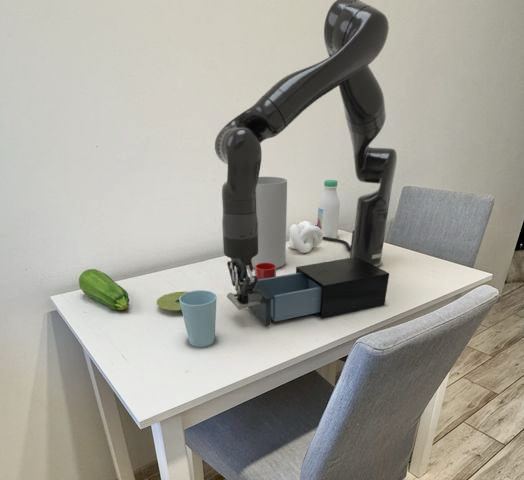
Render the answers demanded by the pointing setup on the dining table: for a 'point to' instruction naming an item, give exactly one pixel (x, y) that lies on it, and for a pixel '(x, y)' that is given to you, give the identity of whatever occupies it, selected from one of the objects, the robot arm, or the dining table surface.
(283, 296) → the dish drawer
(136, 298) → the dining table surface
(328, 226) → the milk bottle
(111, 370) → the dining table surface
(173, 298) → the mat
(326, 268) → the black drawer casing
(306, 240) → the white knot sculpture
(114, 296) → the vegetable
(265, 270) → the red tumbler
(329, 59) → the robot arm
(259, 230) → the cylinder vase
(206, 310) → the cup
